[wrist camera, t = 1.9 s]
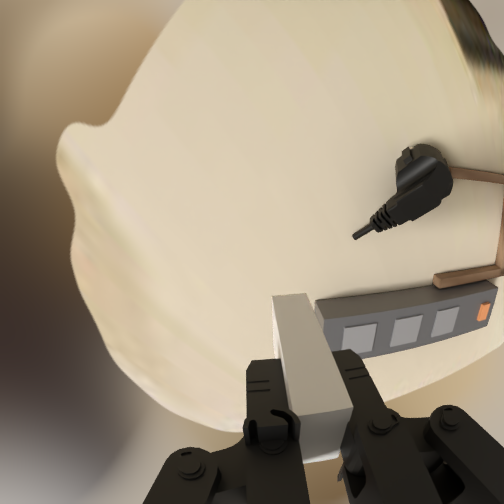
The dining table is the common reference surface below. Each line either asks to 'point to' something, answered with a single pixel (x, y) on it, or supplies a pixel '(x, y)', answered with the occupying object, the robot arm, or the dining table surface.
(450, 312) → the power strip
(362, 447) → the robot arm
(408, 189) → the power plug
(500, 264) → the bay
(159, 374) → the dining table surface
